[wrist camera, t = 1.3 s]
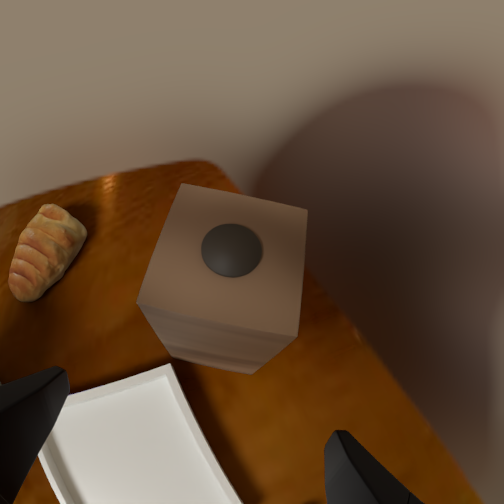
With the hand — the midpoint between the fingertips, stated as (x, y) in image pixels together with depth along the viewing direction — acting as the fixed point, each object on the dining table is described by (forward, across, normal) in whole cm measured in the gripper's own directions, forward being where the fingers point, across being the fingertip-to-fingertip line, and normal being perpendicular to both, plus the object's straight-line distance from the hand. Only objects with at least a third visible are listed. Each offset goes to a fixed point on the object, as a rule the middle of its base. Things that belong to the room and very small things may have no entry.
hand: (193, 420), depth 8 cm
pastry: (+16, +17, +3) cm, 23 cm away
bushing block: (+14, 0, +4) cm, 14 cm away
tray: (+4, +4, +13) cm, 15 cm away
